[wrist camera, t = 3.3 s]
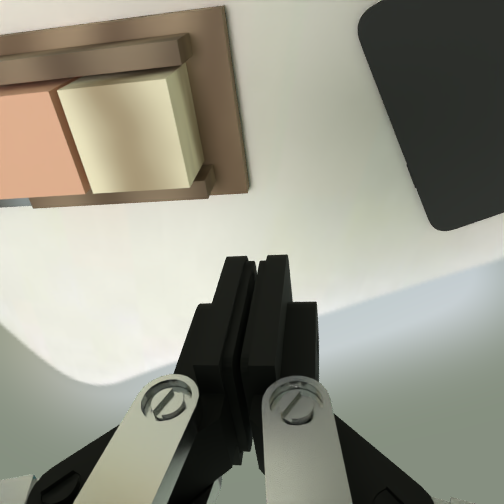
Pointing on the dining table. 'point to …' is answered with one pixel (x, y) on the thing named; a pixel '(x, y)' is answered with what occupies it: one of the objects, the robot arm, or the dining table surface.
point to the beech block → (135, 129)
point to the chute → (137, 58)
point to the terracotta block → (38, 143)
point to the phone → (444, 99)
